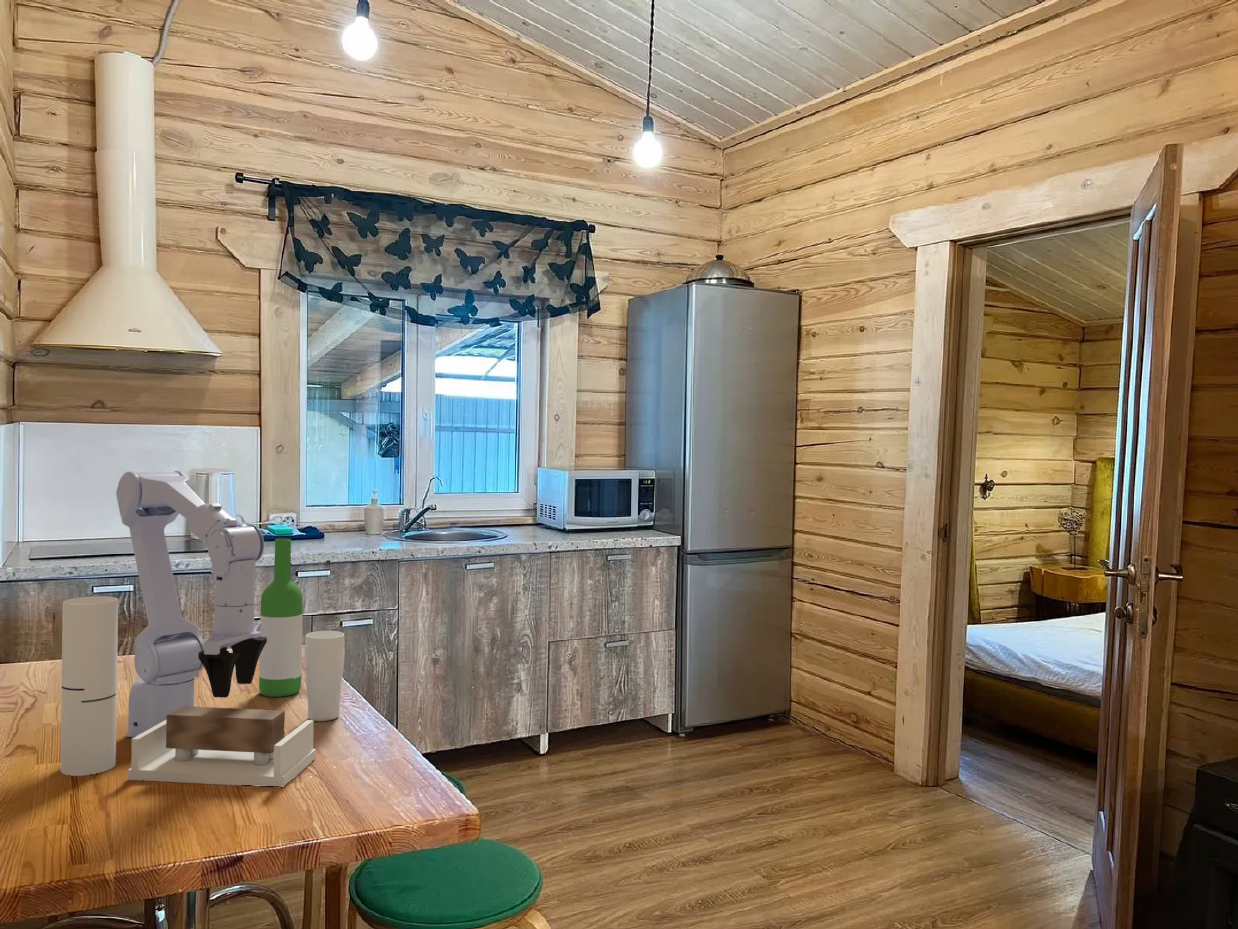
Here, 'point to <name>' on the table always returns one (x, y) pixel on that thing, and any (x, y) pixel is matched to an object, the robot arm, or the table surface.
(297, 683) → the wine bottle
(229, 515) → the robot arm
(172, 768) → the shelf stand
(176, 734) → the brown wooden bar
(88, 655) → the cylindrical container
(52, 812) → the table surface
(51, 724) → the table surface
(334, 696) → the drinking glass
